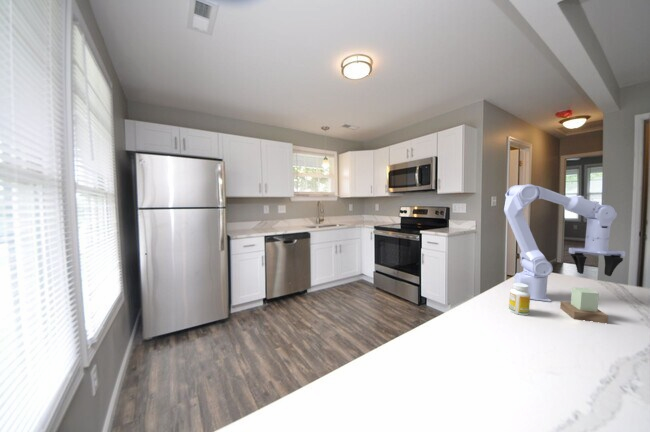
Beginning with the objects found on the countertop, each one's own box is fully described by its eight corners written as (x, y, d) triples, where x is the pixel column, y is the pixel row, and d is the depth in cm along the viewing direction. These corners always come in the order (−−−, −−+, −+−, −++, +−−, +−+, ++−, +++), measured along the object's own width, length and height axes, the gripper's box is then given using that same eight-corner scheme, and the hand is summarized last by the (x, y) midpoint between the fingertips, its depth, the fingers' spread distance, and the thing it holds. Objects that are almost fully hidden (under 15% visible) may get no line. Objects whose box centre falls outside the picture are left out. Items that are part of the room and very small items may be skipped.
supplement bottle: (506, 311, 84) (508, 284, 83) (511, 306, 87) (512, 280, 86) (526, 317, 79) (528, 288, 78) (530, 312, 83) (532, 284, 82)
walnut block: (573, 320, 78) (574, 311, 78) (560, 309, 86) (560, 301, 85) (607, 325, 75) (608, 315, 75) (590, 313, 83) (590, 304, 82)
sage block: (580, 310, 79) (581, 292, 78) (570, 304, 83) (572, 287, 82) (597, 311, 78) (599, 293, 77) (586, 305, 82) (588, 288, 81)
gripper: (577, 238, 87) (574, 275, 89) (633, 240, 82) (629, 280, 83) (566, 235, 94) (563, 269, 95) (618, 237, 89) (614, 273, 90)
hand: (593, 274), depth 90 cm, fingers open, 7 cm apart
